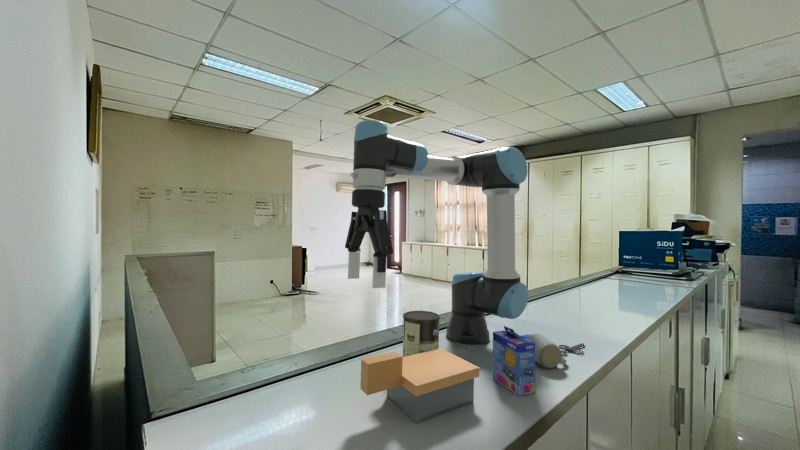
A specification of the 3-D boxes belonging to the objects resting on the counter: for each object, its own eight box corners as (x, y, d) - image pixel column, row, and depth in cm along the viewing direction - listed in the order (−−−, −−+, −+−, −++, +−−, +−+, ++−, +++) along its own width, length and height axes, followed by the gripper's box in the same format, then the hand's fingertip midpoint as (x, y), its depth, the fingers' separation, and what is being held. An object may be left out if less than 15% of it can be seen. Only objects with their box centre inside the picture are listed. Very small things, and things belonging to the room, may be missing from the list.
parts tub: (440, 380, 82) (440, 353, 82) (473, 402, 72) (474, 370, 72) (386, 396, 74) (387, 365, 74) (416, 423, 64) (417, 387, 64)
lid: (440, 356, 83) (441, 332, 83) (479, 376, 72) (479, 349, 72) (350, 378, 70) (350, 350, 70) (380, 408, 59) (380, 374, 59)
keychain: (599, 349, 108) (599, 344, 108) (570, 361, 98) (570, 355, 98) (575, 342, 114) (575, 337, 114) (546, 352, 104) (546, 347, 104)
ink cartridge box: (490, 378, 84) (491, 322, 84) (507, 375, 86) (509, 320, 86) (517, 397, 75) (518, 334, 75) (535, 393, 77) (537, 332, 77)
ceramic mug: (540, 370, 90) (541, 342, 90) (523, 358, 98) (524, 333, 98) (573, 369, 92) (574, 341, 92) (554, 357, 100) (555, 332, 100)
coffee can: (439, 359, 95) (441, 311, 96) (436, 375, 85) (438, 321, 85) (405, 356, 97) (406, 309, 98) (398, 370, 87) (399, 318, 88)
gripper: (334, 193, 83) (331, 275, 83) (379, 182, 62) (374, 293, 62) (361, 195, 87) (358, 274, 87) (412, 186, 66) (408, 291, 65)
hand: (365, 282), depth 74 cm, fingers open, 13 cm apart
